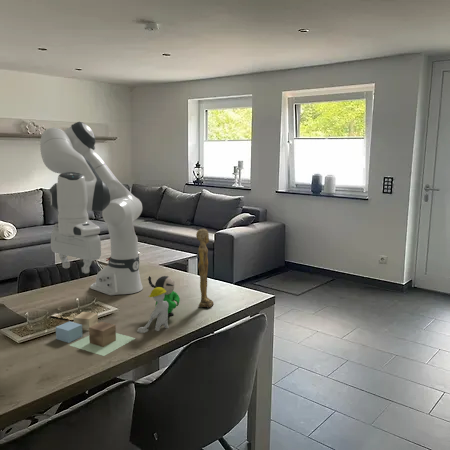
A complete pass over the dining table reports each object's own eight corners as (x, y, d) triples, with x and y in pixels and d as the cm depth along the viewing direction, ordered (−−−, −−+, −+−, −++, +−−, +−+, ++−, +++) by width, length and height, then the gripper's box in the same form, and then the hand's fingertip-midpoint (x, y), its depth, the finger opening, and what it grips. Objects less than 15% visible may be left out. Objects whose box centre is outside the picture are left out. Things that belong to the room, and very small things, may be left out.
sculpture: (210, 309, 171) (211, 230, 165) (194, 308, 172) (194, 229, 167) (214, 303, 177) (215, 227, 172) (198, 302, 178) (199, 226, 173)
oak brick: (74, 332, 149) (73, 317, 148) (83, 325, 154) (82, 311, 154) (89, 333, 148) (88, 319, 147) (98, 327, 153) (97, 313, 152)
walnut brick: (89, 343, 139) (89, 327, 138) (102, 336, 143) (102, 321, 142) (103, 347, 136) (102, 331, 135) (115, 340, 141) (115, 324, 140)
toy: (172, 323, 157) (171, 281, 154) (142, 319, 160) (141, 278, 158) (182, 313, 166) (182, 274, 163) (154, 310, 169) (154, 271, 167)
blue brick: (56, 342, 141) (55, 327, 141) (70, 335, 146) (69, 321, 145) (69, 346, 139) (68, 330, 138) (82, 339, 144) (82, 324, 143)
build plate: (68, 348, 137) (68, 345, 137) (102, 332, 149) (102, 329, 149) (103, 359, 131) (103, 355, 130) (135, 341, 143) (135, 338, 142)
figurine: (148, 323, 157) (147, 281, 154) (172, 327, 154) (172, 284, 151) (133, 335, 147) (132, 290, 144) (159, 339, 144) (158, 293, 142)
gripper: (44, 224, 143) (46, 266, 145) (86, 231, 131) (88, 278, 134) (61, 221, 148) (63, 262, 150) (104, 228, 136) (105, 273, 139)
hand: (75, 270), depth 142 cm, fingers open, 8 cm apart
